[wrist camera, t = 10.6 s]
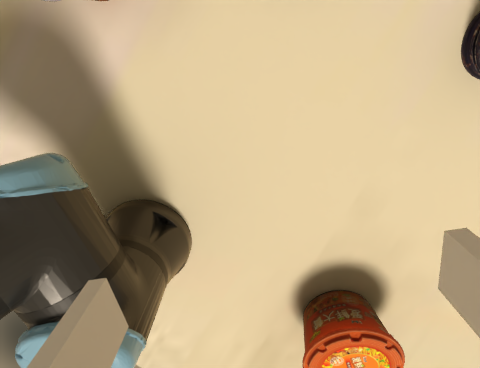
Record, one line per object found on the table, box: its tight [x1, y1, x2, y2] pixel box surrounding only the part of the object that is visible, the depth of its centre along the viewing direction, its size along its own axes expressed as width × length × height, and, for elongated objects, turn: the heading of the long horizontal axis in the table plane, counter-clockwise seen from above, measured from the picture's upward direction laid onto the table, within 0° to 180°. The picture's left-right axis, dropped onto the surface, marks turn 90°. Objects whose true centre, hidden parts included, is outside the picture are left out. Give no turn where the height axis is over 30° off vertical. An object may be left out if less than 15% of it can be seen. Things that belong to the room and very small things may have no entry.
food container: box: [303, 291, 405, 368], centre depth 50 cm, size 16×16×11 cm
